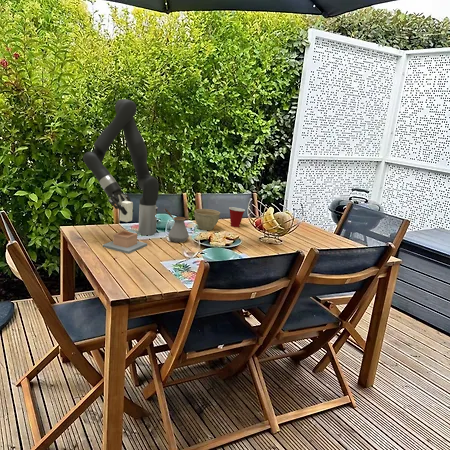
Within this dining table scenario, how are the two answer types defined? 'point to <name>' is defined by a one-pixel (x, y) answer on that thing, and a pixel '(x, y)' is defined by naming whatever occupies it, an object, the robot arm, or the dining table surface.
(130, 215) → the tall brick
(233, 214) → the plastic cup
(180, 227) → the coffee pot
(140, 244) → the tower base
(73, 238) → the dining table surface
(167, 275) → the dining table surface
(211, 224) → the planter bowl
